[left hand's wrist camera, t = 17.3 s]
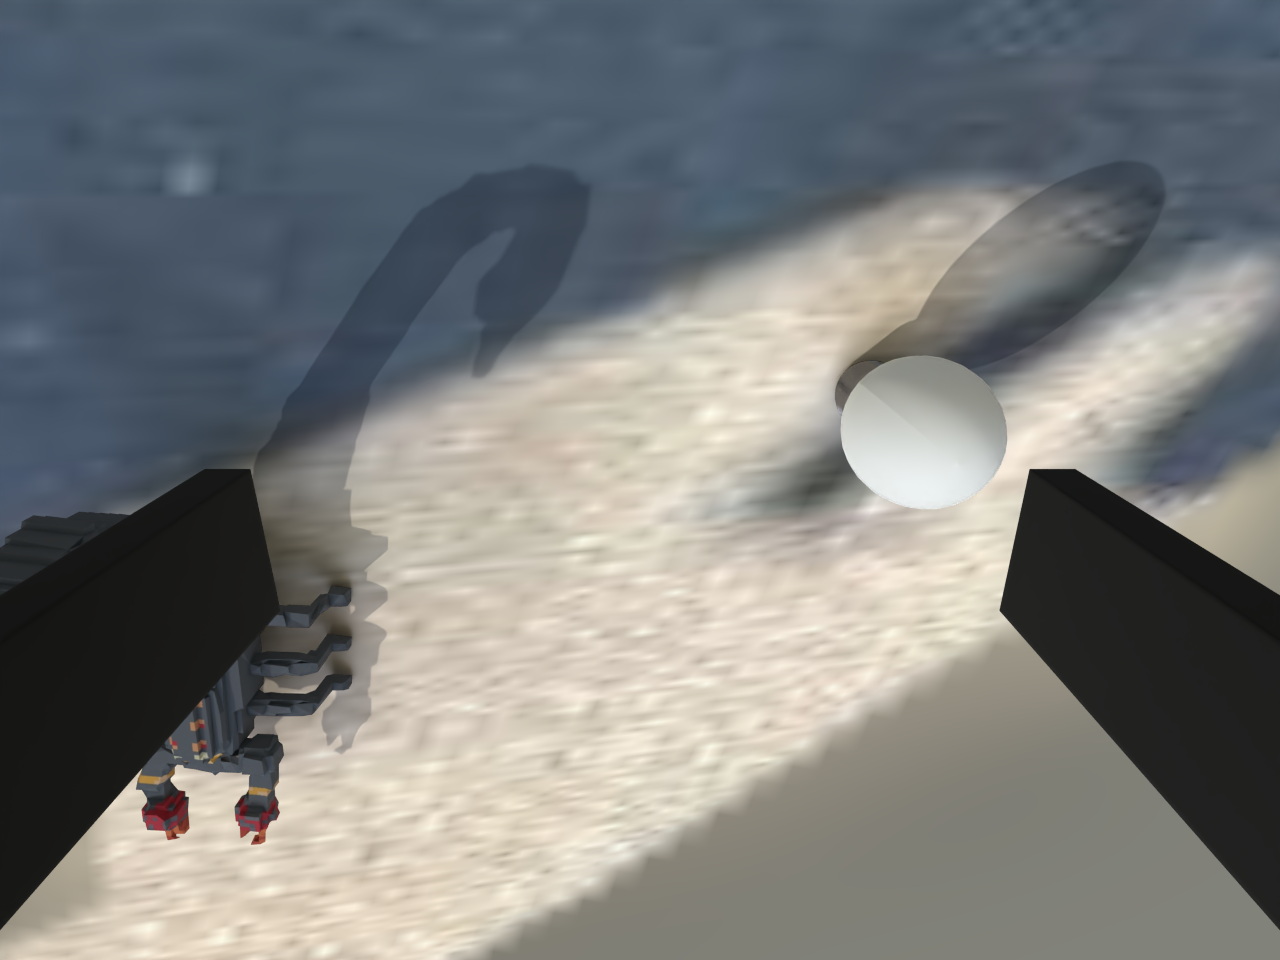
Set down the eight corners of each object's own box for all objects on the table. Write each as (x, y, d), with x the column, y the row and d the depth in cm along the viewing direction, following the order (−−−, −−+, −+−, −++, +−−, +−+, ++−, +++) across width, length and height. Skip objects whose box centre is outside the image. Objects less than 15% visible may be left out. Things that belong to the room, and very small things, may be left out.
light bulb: (786, 405, 39) (838, 479, 29) (873, 305, 37) (962, 345, 27) (875, 475, 40) (955, 569, 30) (963, 382, 38) (1081, 449, 28)
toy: (349, 448, 40) (131, 634, 23) (353, 809, 49) (201, 1130, 32) (103, 416, 39) (-313, 582, 22) (155, 788, 49) (-106, 1105, 32)
